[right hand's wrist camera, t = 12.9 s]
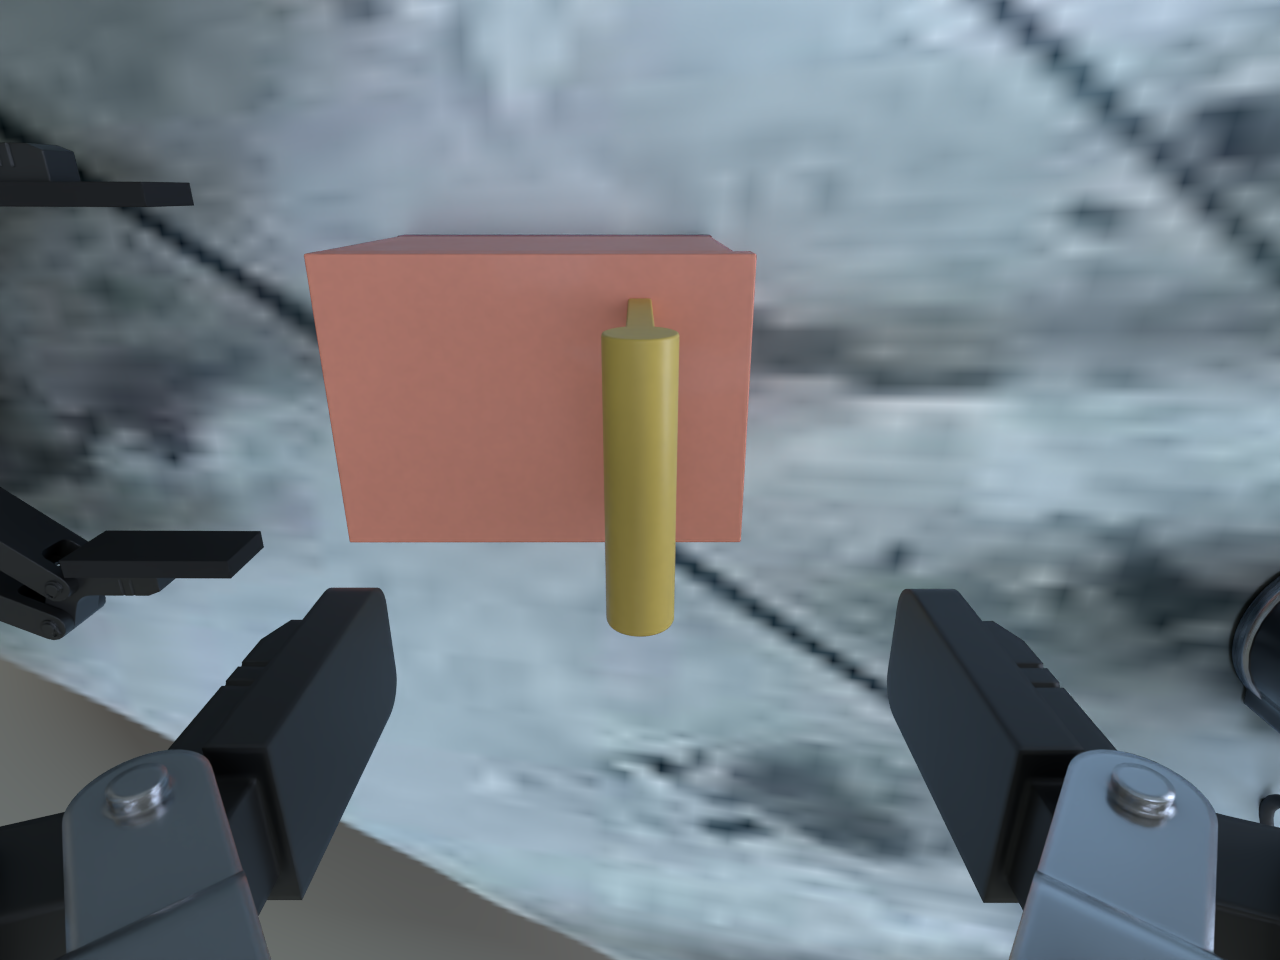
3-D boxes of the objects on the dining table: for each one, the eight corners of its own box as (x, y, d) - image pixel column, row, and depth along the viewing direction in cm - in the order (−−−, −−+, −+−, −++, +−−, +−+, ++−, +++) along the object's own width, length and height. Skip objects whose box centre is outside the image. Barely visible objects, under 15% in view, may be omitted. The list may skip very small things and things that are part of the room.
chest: (709, 234, 31) (735, 250, 23) (702, 447, 34) (722, 529, 26) (403, 234, 31) (317, 250, 23) (427, 447, 34) (360, 529, 26)
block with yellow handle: (752, 251, 23) (812, 283, 15) (737, 529, 26) (779, 676, 18) (317, 251, 23) (144, 283, 15) (360, 529, 26) (238, 677, 18)
